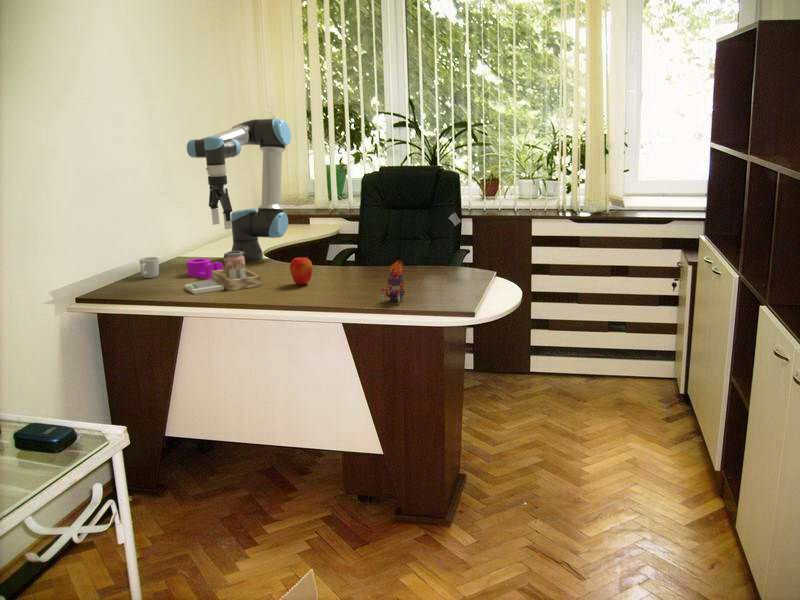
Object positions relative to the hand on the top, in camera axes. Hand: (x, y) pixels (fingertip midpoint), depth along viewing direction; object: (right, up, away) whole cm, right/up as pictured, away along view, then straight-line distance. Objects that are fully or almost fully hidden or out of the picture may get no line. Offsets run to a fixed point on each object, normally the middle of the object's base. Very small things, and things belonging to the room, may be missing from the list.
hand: (222, 226), depth 327 cm
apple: (+34, -24, -8) cm, 43 cm away
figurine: (+71, -31, -38) cm, 86 cm away
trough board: (+6, -24, -3) cm, 25 cm away
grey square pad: (-4, -25, -12) cm, 28 cm away
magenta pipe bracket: (-11, -20, +13) cm, 27 cm away
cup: (-34, -21, +11) cm, 41 cm away
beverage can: (+6, -23, -3) cm, 24 cm away
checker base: (-5, -26, -12) cm, 29 cm away
